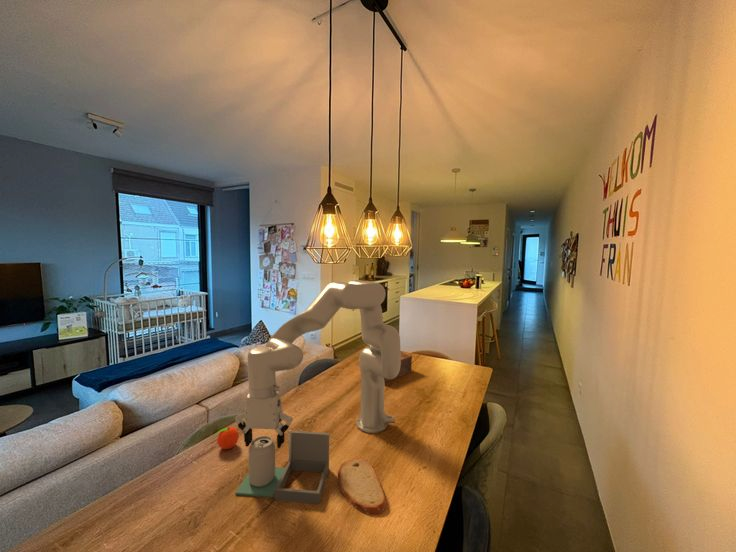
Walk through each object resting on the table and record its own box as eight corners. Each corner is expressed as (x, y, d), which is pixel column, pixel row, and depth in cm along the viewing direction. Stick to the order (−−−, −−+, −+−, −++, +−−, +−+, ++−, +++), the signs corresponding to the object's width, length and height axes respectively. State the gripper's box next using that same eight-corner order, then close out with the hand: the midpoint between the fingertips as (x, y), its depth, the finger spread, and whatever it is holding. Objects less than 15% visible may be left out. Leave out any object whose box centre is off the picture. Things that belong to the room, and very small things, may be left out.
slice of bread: (383, 520, 79) (383, 506, 79) (321, 500, 85) (322, 488, 85) (398, 473, 96) (399, 462, 96) (346, 459, 102) (347, 449, 102)
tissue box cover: (393, 365, 188) (393, 349, 188) (411, 372, 178) (411, 355, 177) (362, 376, 171) (362, 358, 170) (380, 384, 160) (380, 366, 160)
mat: (286, 469, 96) (286, 468, 96) (273, 497, 85) (273, 495, 85) (253, 467, 97) (253, 465, 97) (235, 494, 86) (235, 492, 86)
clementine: (213, 456, 102) (212, 436, 101) (214, 444, 108) (214, 425, 107) (239, 450, 105) (238, 431, 104) (238, 439, 111) (238, 420, 111)
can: (280, 473, 94) (280, 436, 93) (264, 491, 87) (264, 451, 86) (259, 467, 96) (259, 431, 95) (243, 485, 89) (242, 446, 88)
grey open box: (328, 468, 97) (329, 430, 96) (319, 503, 84) (319, 459, 83) (290, 465, 98) (290, 427, 97) (274, 500, 84) (274, 455, 83)
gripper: (295, 384, 92) (296, 437, 94) (240, 383, 93) (242, 435, 95) (287, 397, 85) (288, 454, 86) (227, 395, 86) (230, 451, 88)
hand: (264, 444), depth 91 cm, fingers open, 9 cm apart
